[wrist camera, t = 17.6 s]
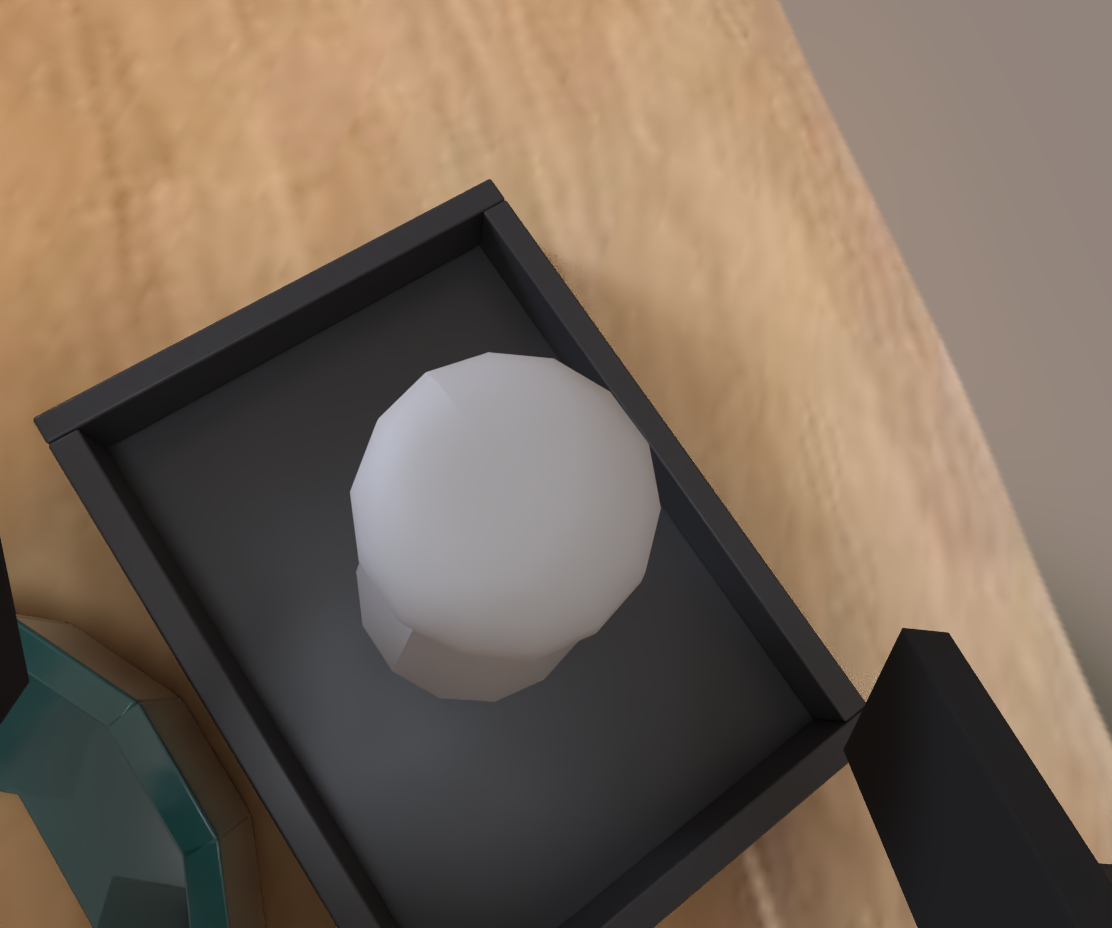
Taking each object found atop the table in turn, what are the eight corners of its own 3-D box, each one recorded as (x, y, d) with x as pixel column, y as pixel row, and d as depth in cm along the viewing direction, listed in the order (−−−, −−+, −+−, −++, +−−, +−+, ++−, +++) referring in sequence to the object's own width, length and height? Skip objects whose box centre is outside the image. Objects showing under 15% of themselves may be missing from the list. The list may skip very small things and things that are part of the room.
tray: (73, 445, 23) (30, 418, 21) (484, 223, 27) (490, 176, 24) (442, 1055, 21) (444, 1106, 18) (840, 725, 24) (887, 731, 22)
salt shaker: (581, 497, 24) (738, 306, 12) (571, 704, 23) (738, 733, 10) (375, 480, 24) (312, 256, 11) (351, 692, 22) (247, 708, 10)
